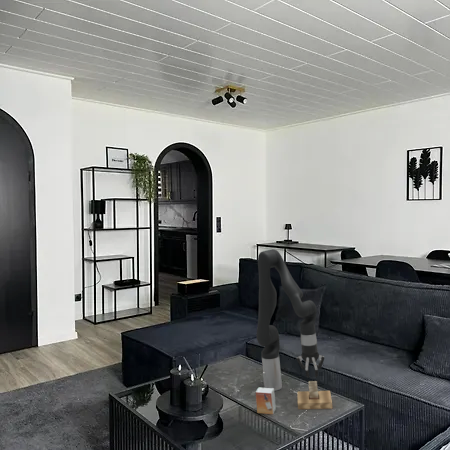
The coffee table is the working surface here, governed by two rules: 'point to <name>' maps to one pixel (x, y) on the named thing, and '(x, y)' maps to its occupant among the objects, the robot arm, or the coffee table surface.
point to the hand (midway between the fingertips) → (312, 376)
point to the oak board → (314, 400)
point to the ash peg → (313, 390)
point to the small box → (265, 400)
